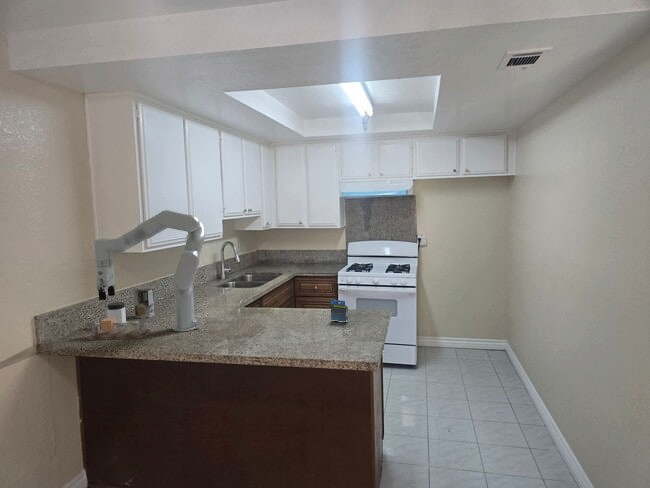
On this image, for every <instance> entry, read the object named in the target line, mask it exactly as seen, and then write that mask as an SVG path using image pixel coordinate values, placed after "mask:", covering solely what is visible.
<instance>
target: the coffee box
mask: <svg viewBox="0 0 650 488" xmlns="http://www.w3.org/2000/svg"><path fill="white" fill-rule="evenodd" d="M154 297H155V296H154V288H138V289H136V290H133V301H134V314H135V318H136V319H141V318H145V319H149V318H152V317H154V316H155V313H156V311H155V300H154V299H155V298H154Z"/></svg>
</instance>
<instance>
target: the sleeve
mask: <svg viewBox="0 0 650 488" xmlns="http://www.w3.org/2000/svg"><path fill="white" fill-rule="evenodd" d="M112 322H116V318H108V317H106V318H103V319H102V320H100V323H101V327H100V331H112V330H116V329H117V327H116V326H113V324H112Z"/></svg>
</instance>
